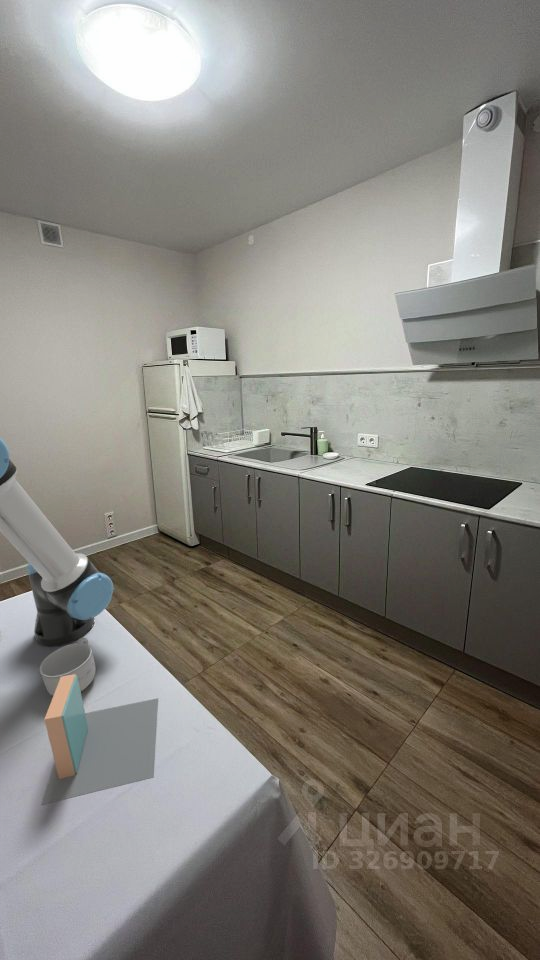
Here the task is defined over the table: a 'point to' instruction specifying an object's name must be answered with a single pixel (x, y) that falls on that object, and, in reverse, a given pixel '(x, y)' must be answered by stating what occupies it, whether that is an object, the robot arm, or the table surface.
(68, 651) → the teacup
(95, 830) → the table surface
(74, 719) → the tile
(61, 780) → the mat
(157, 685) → the table surface
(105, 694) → the table surface
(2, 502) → the robot arm
